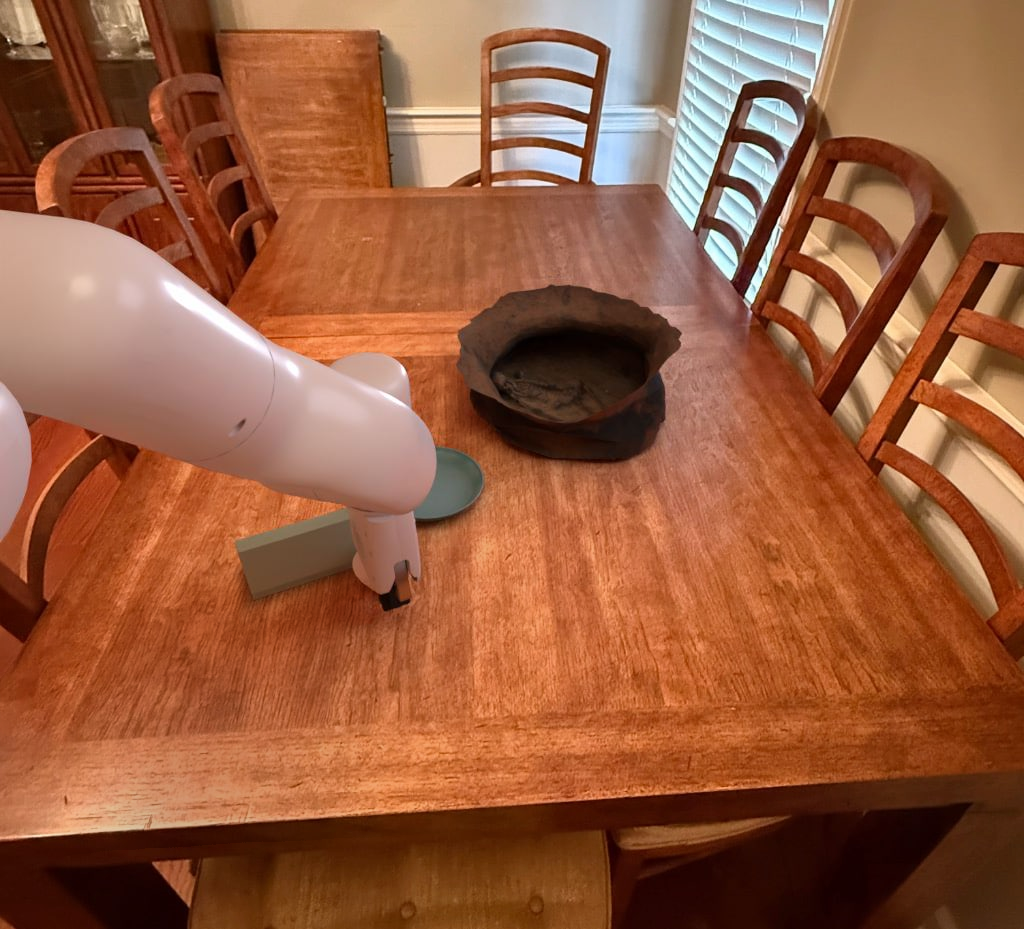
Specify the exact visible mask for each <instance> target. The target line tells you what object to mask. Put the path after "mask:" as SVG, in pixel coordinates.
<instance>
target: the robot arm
mask: <svg viewBox="0 0 1024 929" xmlns="http://www.w3.org/2000/svg"><path fill="white" fill-rule="evenodd" d="M412 408H413V407H412V396H411V386H410V380H409V375H408V373H407V370H406V369H405V367H404V366H403V364H402V363H401V362H399V361H398V360H397V359H396V358H394V357H393V356H390V355H387V354H384V353H381V352H373V351H372V352H371V351H366V352H365V351H363V352H362V351H361V352H356V353H351V354H347V355H344V356H342V357H340V358H338V359H337V360H335V361H333V362H331V363H330V364H329V365H328V366H327V365H325V364H323V363H321V362H318V361H317V360H314V359H313V358H311V357H308V356H306V355H303V354H301V353H300V352H299V353H298V352H296V351H293V350H290V349H288V348H286V347H283V346H281V345H279V344H276V343H275V342H273V341H272V340H270V339H269V338H267V337H266V336H264V335H263V334H262V333H260V332H259V331H258V330H257V329H256V328H254V327H253V326H252V325H250V324H249V323H247V322H246V321H244V320H243V319H242V318H241V317H240V316H238V315H237V314H236V313H235V312H233V311H232V310H231V309H229V308H228V307H227V306H225V305H224V304H223V303H221V302H220V301H219V300H217V299H216V298H215V297H214V296H213V295H211V294H210V293H209V292H207V291H206V290H205V289H204V288H202V287H201V286H200V285H198V283H196V282H194V281H193V280H192V279H191V278H189V277H188V276H187V275H185V274H184V273H183V272H181V271H180V270H179V269H178V268H176V267H175V266H174V265H173V264H171V263H170V262H168V261H167V259H164V258H163V257H162V256H161V255H160V254H158V253H157V252H155V251H154V250H152V249H151V248H150V247H147V246H146V245H145V244H143V243H141V242H140V241H138V240H136V239H134V238H133V237H130V236H128V235H126V234H123V233H121V232H119V231H117V230H114V229H112V228H109V227H105V226H103V225H100V224H96V223H93V222H90V221H86V220H80V219H76V218H70V217H63V216H57V215H55V216H54V215H47V214H39V213H30V212H21V211H12V210H4V209H0V544H2V542H3V540H4V539H5V537H6V536H7V534H8V533H9V532H10V530H11V527H12V526H13V523H14V521H15V519H16V517H17V515H18V513H19V511H20V509H21V508H22V505H23V502H24V499H25V496H26V493H27V490H28V485H29V479H30V473H31V468H32V463H33V459H32V458H33V457H32V456H33V455H32V441H31V440H32V438H31V432H30V429H29V426H28V423H27V420H26V417H25V414H24V412H26V413H31V414H35V415H38V416H42V417H46V418H49V419H52V420H57V421H60V422H63V423H66V424H69V425H72V426H75V427H79V428H81V429H85V430H88V431H90V432H93V433H97V434H100V435H101V436H102V435H103V436H105V437H108V438H110V439H114V440H118V441H121V442H123V443H128V444H130V445H133V446H137V447H140V448H143V449H145V450H148V451H152V452H154V453H157V454H159V455H164V456H165V457H169V458H170V459H173V460H177V461H180V462H183V463H186V464H188V465H191V466H193V467H194V466H195V467H197V468H200V469H203V470H206V471H209V472H214V473H218V474H223V475H227V476H231V477H234V478H239V479H243V480H248V481H252V482H256V483H259V484H261V485H262V486H263V487H265V488H266V489H268V490H270V491H273V492H276V493H279V494H283V495H287V496H293V497H296V498H297V497H298V498H302V499H308V500H311V501H318V502H323V503H331V504H335V505H341V506H345V508H348V511H349V519H350V527H351V534H352V538H353V542H354V545H355V547H356V550H357V552H358V555H359V557H360V560H361V562H362V564H363V567H364V569H365V571H366V574H367V576H368V578H369V581H370V583H371V585H372V587H373V589H374V590H375V591H374V592H375V593H377V598H378V602H379V604H380V605H381V609H382V611H383V612H384V613H385V612H389V611H392V610H397V609H400V608H402V607H404V606H406V605H409V604H410V603H412V602H411V600H412V598H413V595H412V590H411V584H410V580H409V578H410V576H411V578H412V581H413V582H415V583H418V582H419V581H420V579H421V577H422V562H421V553H420V547H419V538H418V533H417V532H418V531H417V527H416V526H417V525H416V520H415V518H414V514H413V510H415V509H416V508H417V507H418V506H420V505H421V503H422V502H423V501H424V500H425V499H426V497H427V495H428V493H429V492H430V489H431V487H432V485H433V482H434V478H435V473H436V464H437V459H436V450H435V446H436V445H435V441H434V438H433V435H432V433H431V432H430V429H429V428H428V426H427V425H426V423H425V422H424V421H423V419H421V417H420V416H419V415H418V414H417V413H416V412H415V411H414V410H413V409H412ZM409 574H410V576H409Z"/></svg>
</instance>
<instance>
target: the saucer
mask: <svg viewBox="0 0 1024 929" xmlns="http://www.w3.org/2000/svg"><path fill="white" fill-rule="evenodd" d="M435 450H436V459H437V464H436V473H435V478H434V482H433V485H432V487H431V489H430V492H429V493H428V495H427V497H426V499H425V500H424V501H423V502H422V503H421V505H420V506H418V507H417V508H416V509H415V510H413V514H414V518H415V522H417V521H418V522H436V521H442V520H445V519H449V518H452V517H454V516H456V515H458V514H460V513H461V512H463V511H465V510H466V509H468V508H469V507H470V506H471V505H472V504H473V503H474V502H475V501H476V500H477V499H478V497H479V496H480V495H481V493H482V492H483V490H484V485H485V476H484V471H483V469H482V468H481V466H480V464H479V463H478V462H477V461H476V460H475V459H474V458H473V457H472V456H470V455H469V454H467V453H465V452H464V451H461V450H458V449H455V448H452V447H447V446H442V445H441V446H440V445H439V446H437V445H435Z"/></svg>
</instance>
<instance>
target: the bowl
mask: <svg viewBox="0 0 1024 929" xmlns="http://www.w3.org/2000/svg"><path fill="white" fill-rule="evenodd" d="M469 321H470V323H468V324H466V325H465V326H464V327H462V328H460V329H458V330H457V334H456V335H457V339H458V342H459V344H460V347H459V358H458V360H457V362H456V363H455V366H456V368H457V370H458V372H459V373H460V374H461V376H463V378H464V382H465V385H466V387H468V388H469V389H470V390H469V398H470V402H471V406H472V407H473V410H474V411H475V412H476V413H477V415H478V416H479V417H480V418H481V419H484V420H485V421H487V422H488V423H489V424H490V426H491V427H492V428H493V429H494V430H495V431H496V432H497V433H498V434H499V436H500V437H501V438H503V440H505V441H507V442H508V443H510V444H512V445H513V446H516V447H519V448H521V449H524V450H527V451H530V452H532V453H536V454H539V455H542V456H545V457H548V458H553V459H570V460H610V461H614V460H621V459H622V458H624V459H628V458H630V457H632V456H634V455H635V454H639V453H641V452H644V451H645V450H647V449H648V448H650V447H651V446H652V445H653V444H654V443H655V441H656V439H657V437H658V433H659V431H660V427H661V424H663V423H664V422H665V421H666V420H667V416H666V413H667V412H666V411H667V407H666V406H667V405H666V395H667V394H666V393H667V392H666V386H665V382H664V381H663V378H662V374H661V373H660V370H661V368H662V367H663V366H664V364H665V363H666V362H667V361H668V359H670V358H671V357H672V356H673V355H674V354H676V352H678V351H679V350H680V348H682V341H681V340H680V338H681V336H682V335H683V332H682V331H681V330H680V329H679V328H677V327H676V326H672V325H671V324H670V323H669V321H668V318H666V317H664V316H662V315H661V313H657V312H656V313H655V312H654V311H652V309H650V307H649V306H641V305H640V304H639V303H638V302H635V300H633V299H627V298H621V297H619V296H617V295H615V294H611V293H607V292H601V291H597V290H593V289H592V288H591V287H587V286H578V285H571V284H563V285H555V284H552V283H551V284H548V285H547V286H545V287H541V288H535V289H527V290H520V291H519V290H518V291H511V292H507V293H506V294H505V295H503V296H502V295H500V297H499V298H498V299H497V300H496V301H495V303H494V304H493V305H492V306H491V307H487V308H484V309H483V310H482V311H479V313H478V314H477V315H475V316H473V317H471V318H470V319H469Z"/></svg>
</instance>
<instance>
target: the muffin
mask: <svg viewBox="0 0 1024 929" xmlns="http://www.w3.org/2000/svg"><path fill="white" fill-rule="evenodd" d="M352 566H353V568H352V571H353V573H354V574H355V576H356V578H357V580H359V581H360V582H361V583H362V584H364V585H365V586H366V587H367V588H369V589H370V590H372V591H373V592H375V590H374V589H373V587H372V585H371V583H370V581H369V578H368V576H367V574H366V571H365V569H364V567H363V564H362V562H361V560H360V557H359V555H358V552H356V554H355V556H354V558H353V561H352Z"/></svg>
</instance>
